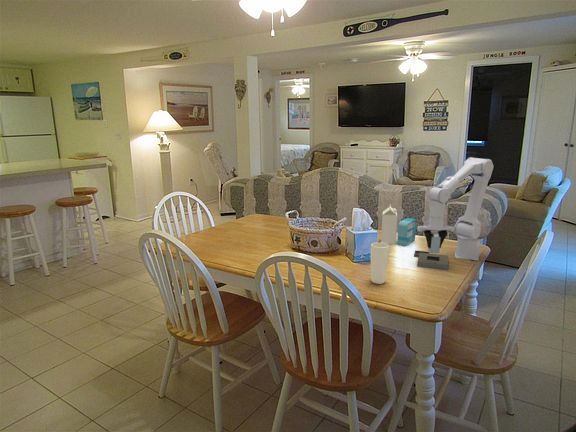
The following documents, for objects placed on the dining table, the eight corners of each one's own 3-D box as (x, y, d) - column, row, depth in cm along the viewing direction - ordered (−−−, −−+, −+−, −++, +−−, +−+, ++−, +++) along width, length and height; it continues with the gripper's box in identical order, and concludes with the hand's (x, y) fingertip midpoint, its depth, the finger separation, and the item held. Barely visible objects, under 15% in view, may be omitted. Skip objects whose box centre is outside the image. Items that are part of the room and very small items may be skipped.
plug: (436, 250, 174) (437, 231, 172) (439, 253, 171) (440, 234, 169) (427, 250, 175) (429, 231, 173) (430, 253, 171) (432, 234, 169)
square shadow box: (429, 255, 186) (429, 251, 185) (428, 259, 180) (429, 256, 179) (414, 253, 188) (415, 250, 188) (413, 257, 182) (414, 254, 182)
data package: (405, 247, 196) (407, 223, 193) (396, 246, 199) (398, 222, 196) (415, 241, 205) (416, 218, 202) (406, 239, 208) (407, 217, 205)
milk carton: (380, 244, 201) (382, 207, 196) (381, 240, 208) (383, 203, 203) (395, 245, 200) (397, 207, 195) (395, 241, 206) (397, 204, 202)
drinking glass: (367, 278, 160) (368, 242, 156) (384, 277, 161) (385, 241, 157) (372, 285, 154) (373, 248, 150) (389, 284, 154) (391, 247, 150)
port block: (447, 261, 177) (448, 255, 177) (447, 271, 166) (448, 264, 166) (418, 258, 182) (419, 252, 181) (417, 267, 171) (417, 261, 170)
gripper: (450, 214, 172) (448, 244, 176) (416, 214, 173) (414, 244, 176) (457, 218, 166) (454, 249, 169) (421, 218, 166) (418, 249, 169)
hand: (434, 247), depth 172 cm, fingers closed on plug, 4 cm apart
